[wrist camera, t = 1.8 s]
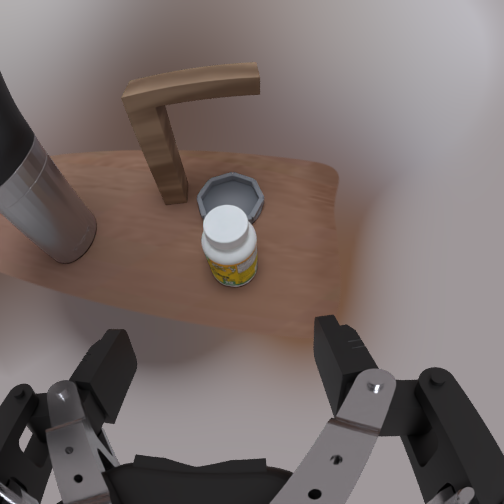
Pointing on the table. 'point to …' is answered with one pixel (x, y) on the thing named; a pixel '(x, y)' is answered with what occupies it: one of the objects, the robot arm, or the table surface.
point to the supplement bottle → (230, 245)
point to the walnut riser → (157, 121)
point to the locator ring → (231, 195)
